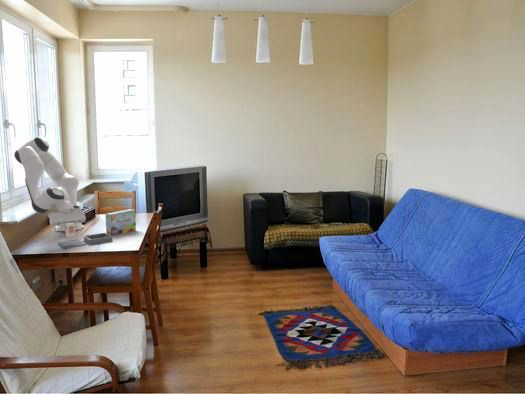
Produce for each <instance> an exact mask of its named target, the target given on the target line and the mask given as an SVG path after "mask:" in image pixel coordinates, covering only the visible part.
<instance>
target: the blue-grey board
mask: <svg viewBox="0 0 525 394" xmlns="http://www.w3.org/2000/svg"><path fill="white" fill-rule="evenodd" d="M57 245H59V246H60V247H61V248H62V249H64V250H67V249H68V248H69V249H70V248H74V247H75V248H77V247H79V246H80V247H81V246H86V242H83V241H82V240H81V239H78V238H77V239H73V240H72V239H71V240H64V241H59V242H58V243H57Z"/></svg>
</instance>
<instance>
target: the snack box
mask: <svg viewBox="0 0 525 394" xmlns="http://www.w3.org/2000/svg"><path fill="white" fill-rule="evenodd" d="M136 222H137V218H136V209H133V208H128V209H123V210H117V211H114V212H108V213H107V212H106V213H105V230H106V231H105V233H107V234H108V235H110V236H112V237H113V236H116V235H120V234H128V233H131V232H135V231H137V223H136Z"/></svg>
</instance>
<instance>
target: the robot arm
mask: <svg viewBox="0 0 525 394" xmlns="http://www.w3.org/2000/svg"><path fill="white" fill-rule="evenodd" d="M49 148H50V145H49V143H48V141H47V139H45V138H44V137H43V136H36V137H34V138H33V139H31V140H29V141H27V142H25V144H23V145H22V146H21V147H19V148H18V149H17V150H15V151H14V159H15V160H16V161H17V162H18V163H19V164H21V165H22V167H23V169H24V173H25V177H24V181H25V186H26V189H27V192H28V194H29V197H30V202H31V208H32V210H34V212H36V213H38V214H46V213H47V212H49V210H50V209H51V208H52V207H54V206H55V207H56V210H55V211H50V212H49V213H47V217H48V218H49V224H50V226H52V227H54V226H55V232H66V230H67V228H66V226H65V223H70V222H73V223H75V231H78V230H82V229H84V228H85V225H83V224H82V223H85V222H86V220H87V217H86V214H85V213H84V210H82V208H81V206H80V205H78V200H77V199H78V198H77V195H78V188H79V184H80V183H79V180H78V179H77V177H75V176H74V175H72V174H69V173H68V172H67V171H66V169H65V168H64V166H63V165H62V163H61V162H60V161H59V159H57V157H56V156H55V155H54V154H53V153H52V152H51V151H49V150H50V149H49ZM44 172H45V173H46V174H47V175H48V176H49V178H50V179H51V180H52V181H53V183H54V184H55V186H56V187H47V189H45V190H44V191H43V192H42V193H41V194H40V190H39V187H38V186H39V185H38V184H39V180H40V179H41V177H42V175H43V174H44Z"/></svg>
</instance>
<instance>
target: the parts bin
mask: <svg viewBox="0 0 525 394" xmlns="http://www.w3.org/2000/svg"><path fill="white" fill-rule="evenodd" d="M83 241H84V243H87V244H89V245H90V246H92V245H97V244H105V243H110V242H113V236H110V235H108V234H107V233H106V232H101V233H94V234H87V235H83Z"/></svg>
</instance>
